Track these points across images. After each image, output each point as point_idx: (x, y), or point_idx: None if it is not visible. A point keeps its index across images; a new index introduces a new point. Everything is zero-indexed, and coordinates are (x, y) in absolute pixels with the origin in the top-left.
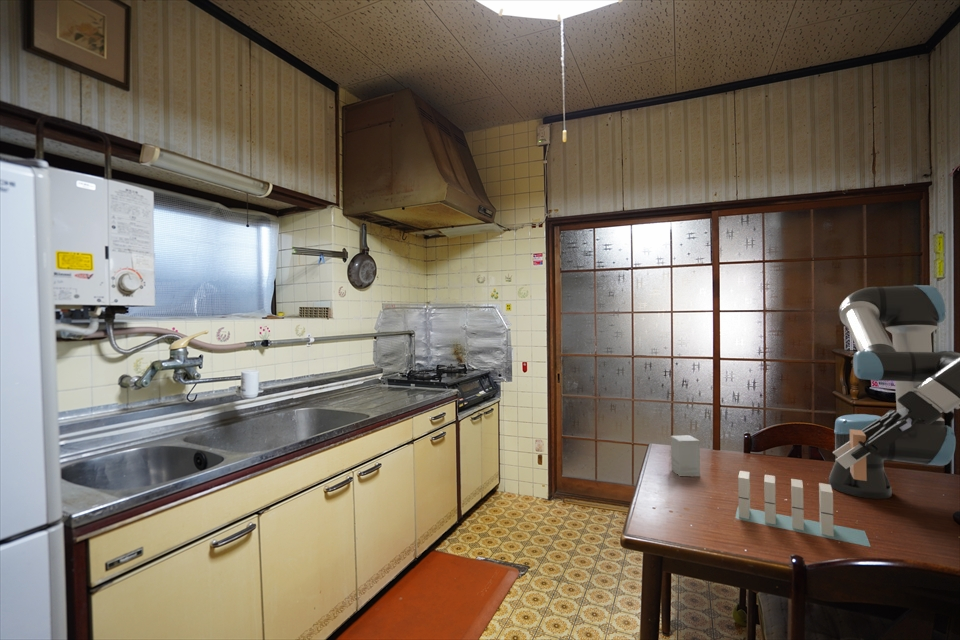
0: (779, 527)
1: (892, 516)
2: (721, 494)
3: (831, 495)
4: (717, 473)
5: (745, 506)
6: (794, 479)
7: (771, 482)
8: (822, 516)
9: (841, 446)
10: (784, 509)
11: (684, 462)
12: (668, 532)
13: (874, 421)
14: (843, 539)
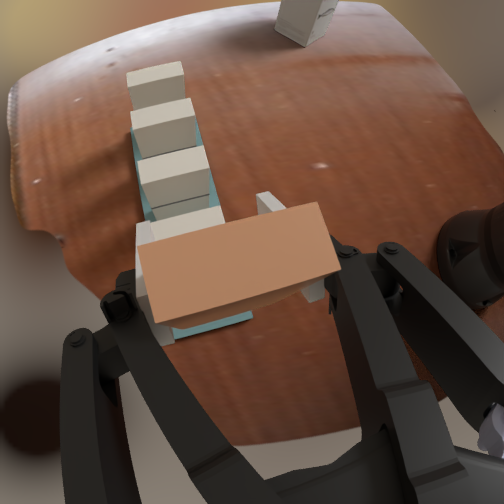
0: (141, 190)
1: None
2: (246, 82)
3: None
4: (345, 64)
5: None
6: (201, 152)
7: (134, 123)
8: None
9: (284, 208)
10: (262, 174)
11: (286, 14)
12: (39, 96)
13: (473, 313)
14: None
